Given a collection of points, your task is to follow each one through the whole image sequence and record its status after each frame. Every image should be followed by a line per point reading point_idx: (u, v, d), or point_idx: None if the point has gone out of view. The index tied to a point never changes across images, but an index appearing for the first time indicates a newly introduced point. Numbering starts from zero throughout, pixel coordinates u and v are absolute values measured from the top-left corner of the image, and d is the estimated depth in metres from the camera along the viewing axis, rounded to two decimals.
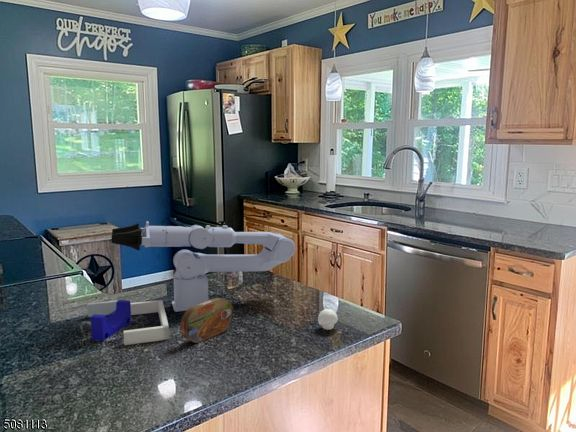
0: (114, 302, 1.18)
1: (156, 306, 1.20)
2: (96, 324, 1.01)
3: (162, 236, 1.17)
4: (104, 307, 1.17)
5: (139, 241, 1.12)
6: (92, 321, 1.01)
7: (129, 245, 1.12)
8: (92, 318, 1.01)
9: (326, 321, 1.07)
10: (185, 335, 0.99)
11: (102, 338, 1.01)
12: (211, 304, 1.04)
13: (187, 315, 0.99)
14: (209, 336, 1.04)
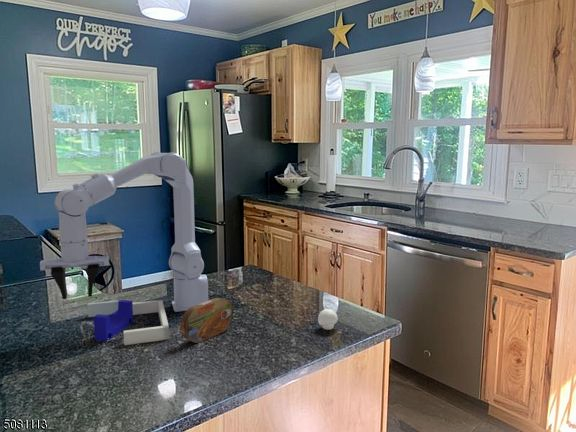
0: (114, 302, 1.18)
1: (156, 306, 1.20)
2: (99, 324, 1.01)
3: (87, 244, 1.03)
4: (104, 307, 1.17)
5: None
6: (95, 321, 1.01)
7: None
8: (95, 318, 1.01)
9: (326, 321, 1.07)
10: (185, 335, 0.99)
11: (105, 338, 1.01)
12: (211, 304, 1.04)
13: (187, 315, 0.99)
14: (209, 336, 1.04)
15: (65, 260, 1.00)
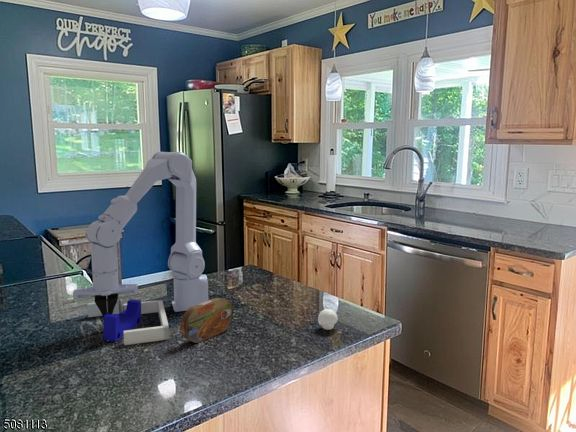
0: None
1: (156, 306, 1.20)
2: (109, 323, 1.01)
3: (117, 273, 1.06)
4: None
5: None
6: (105, 320, 1.01)
7: None
8: (105, 317, 1.01)
9: (326, 321, 1.07)
10: (185, 335, 0.99)
11: (114, 338, 1.01)
12: (211, 304, 1.04)
13: (187, 315, 0.99)
14: (209, 336, 1.04)
15: (97, 290, 1.03)
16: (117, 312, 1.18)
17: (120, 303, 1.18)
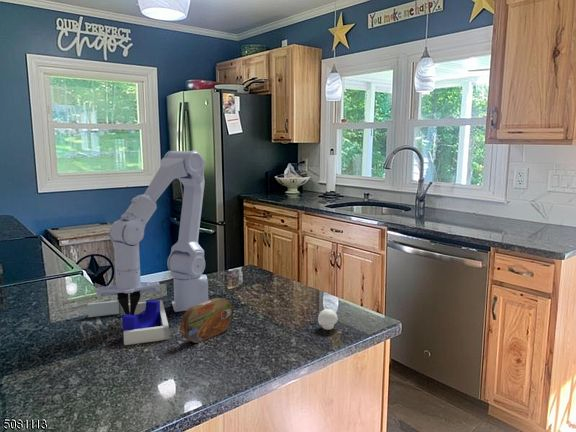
0: (114, 302, 1.18)
1: None
2: (127, 324, 1.01)
3: (139, 271, 1.08)
4: (104, 307, 1.17)
5: None
6: (124, 321, 1.01)
7: None
8: (124, 318, 1.01)
9: (326, 321, 1.07)
10: (185, 335, 0.99)
11: None
12: (211, 304, 1.04)
13: (187, 315, 0.99)
14: (209, 336, 1.04)
15: (120, 287, 1.05)
16: (117, 312, 1.18)
17: None
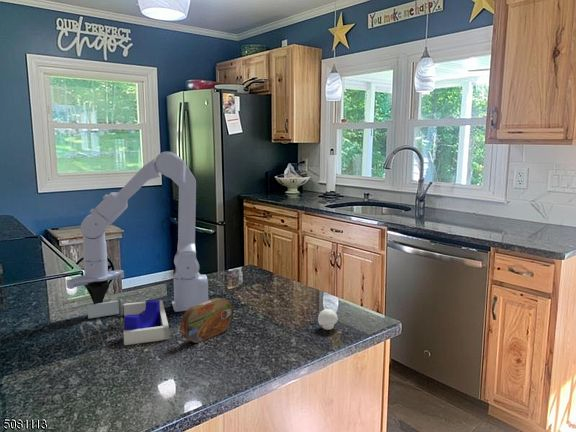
0: (114, 302, 1.17)
1: None
2: (130, 324, 1.01)
3: None
4: (104, 308, 1.16)
5: None
6: (126, 321, 1.01)
7: None
8: (126, 318, 1.01)
9: (326, 321, 1.07)
10: (185, 335, 0.99)
11: None
12: (211, 304, 1.04)
13: (187, 315, 0.99)
14: (209, 336, 1.04)
15: (93, 277, 1.14)
16: (117, 312, 1.18)
17: (120, 303, 1.18)
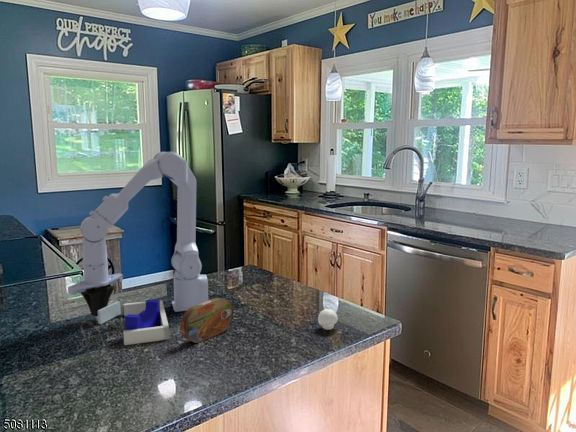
0: (117, 303, 1.17)
1: None
2: (130, 324, 1.01)
3: None
4: (111, 310, 1.15)
5: None
6: (127, 321, 1.01)
7: None
8: (127, 318, 1.01)
9: (326, 321, 1.07)
10: (185, 335, 0.99)
11: None
12: (211, 304, 1.04)
13: (187, 315, 0.99)
14: (209, 336, 1.04)
15: (95, 282, 1.10)
16: (119, 312, 1.18)
17: (121, 303, 1.18)
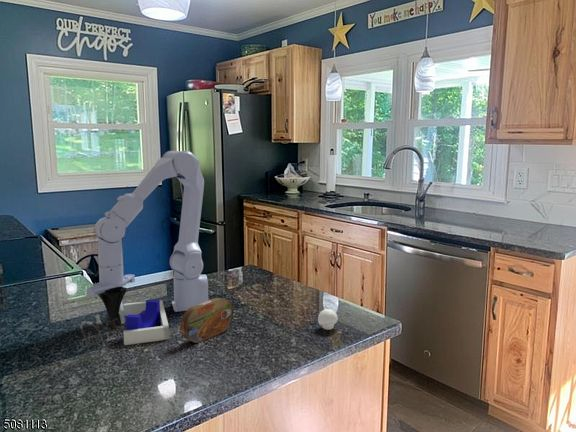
0: (121, 303, 1.17)
1: None
2: (131, 324, 1.01)
3: None
4: None
5: None
6: (127, 321, 1.01)
7: None
8: (127, 318, 1.01)
9: (326, 321, 1.07)
10: (185, 335, 0.99)
11: None
12: (211, 304, 1.04)
13: (187, 315, 0.99)
14: (209, 336, 1.04)
15: (113, 283, 1.08)
16: None
17: None
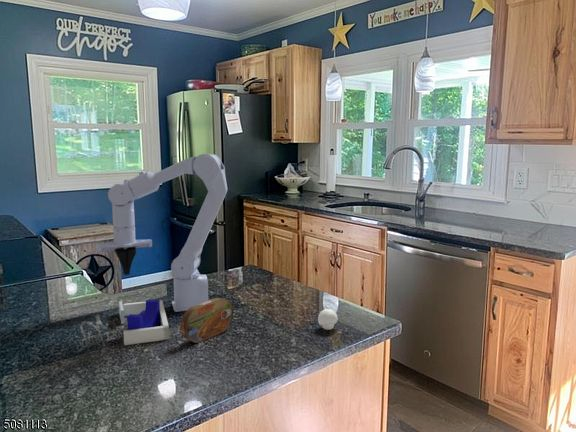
0: (121, 303, 1.17)
1: None
2: (133, 324, 1.01)
3: None
4: None
5: None
6: (129, 321, 1.01)
7: None
8: (129, 318, 1.01)
9: (326, 321, 1.07)
10: (185, 335, 0.99)
11: None
12: (211, 304, 1.04)
13: (187, 315, 0.99)
14: (209, 336, 1.04)
15: (119, 243, 1.20)
16: None
17: (121, 302, 1.19)
